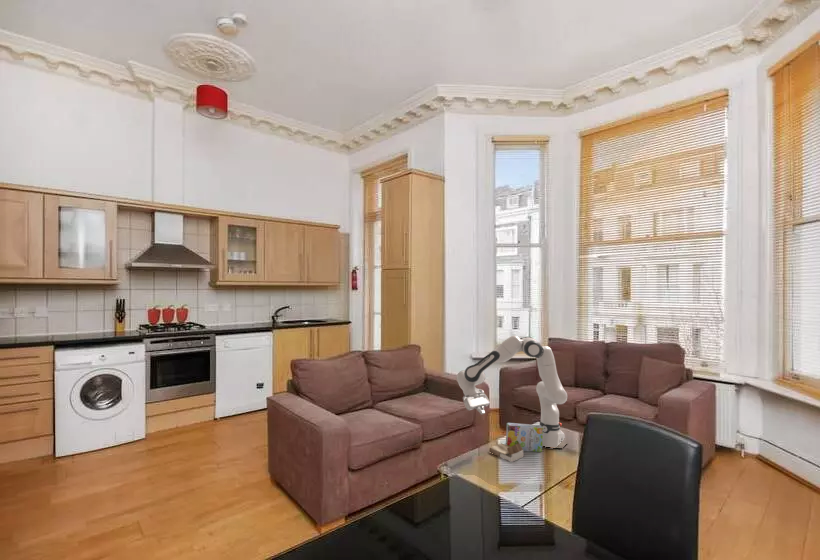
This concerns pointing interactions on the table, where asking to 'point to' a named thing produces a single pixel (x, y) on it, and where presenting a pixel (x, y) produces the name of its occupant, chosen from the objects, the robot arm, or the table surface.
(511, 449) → the walnut block
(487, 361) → the robot arm
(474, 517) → the table surface
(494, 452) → the birch board
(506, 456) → the tray
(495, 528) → the table surface
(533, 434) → the snack box
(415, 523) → the table surface
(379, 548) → the table surface
